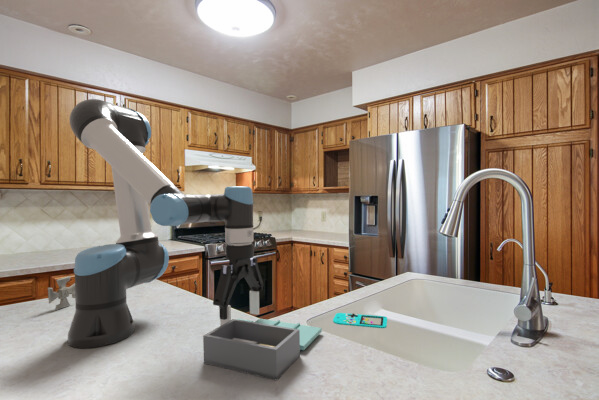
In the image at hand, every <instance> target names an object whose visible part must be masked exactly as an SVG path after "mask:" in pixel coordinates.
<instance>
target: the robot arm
mask: <svg viewBox="0 0 599 400" xmlns="http://www.w3.org/2000/svg"><path fill="white" fill-rule="evenodd" d="M69 125H70V129H71V130H72V133H73V134H74V135H75V137H76V138H77V139H78V140H79V141H80V143H82V145H83V146H85V147H86V148H88V149H92V150H94V151H96V152H97V154H99V156H100V157H101V158H103V159H104V160H105V162H107V164H108V165H110V167H111V174H112V182H113V189H114V198H115V202H116V203H115V205H116V212H117V218H118V219H117V220H118V226H119V234H120V236H119V238H118V239H117V240H116V241H115V243H110V244H104V245H97V246H93V247H89V248H86V249H84V250H81V251H80V252H79V253H77V254H76V256H75V259H74V267H73V274H74V283H75V298H74V299H75V301H74V302H75V311H74V315H73V317H72V321H71V324H70V327H69V330H68V332H67V344H68V346H70V347H72V348H77V349H79V348H80V349H87V348H88V349H89V348H97V347H103V346H109V345H111V344H114V343H117V342H120V341H123V340H124V339H127V338H129V337H130V336H132V334H134V333H135V321H134V319H133V316H132V314H131V311H130V308H129V305H128V304H127V290H128V289H131V288H134V287H136V286H137V287H138V286H139V285H143V284H147V283H151V282H152V281H155V280H157V279H159V278H160V277H161V276H163V274H164V273H165V272H166V270H167V268H168V266H169V262H170V261H169V260H170V257H169V256H170V255H169V252H168V249H167V247H165V246H164V244H163V243H160V242H159V236H158V235H157V234H156V233H154V232H153V231H152V224H151V217H152V220H153V222H155V223H156V224H158V225H160V226H163V227H177V226H182V225H188V224H197V223H204V222H208V223H209V222H224V224H225V226H224V231H225V232H224V233H225V234H224V237H225V238H224V241H225V243H226V245H225V258H226V259H227V260H228V262H229V263H228V265H221V266H220V275H219V278H218V282H217V287H216V290H215V294H214V297H213V302H212V304H213V306H217V307H218V308H219V309H218V310H219V313H218V314H219V320H220V323H219V324H220V326H221V325H223V324H225V323H227V322H229V321H230V320H232V312H231V310H232V309H231V308H232V306H231V305H230V301H231V300H232V299H231V298H233V297H232V296H233V295H234V292H235V289H236V286H237V284H238V283H240V280H242V279H243V278H244V279H245V281H246V283H247V285H248V286H249V287H250V290H249V314H251V315H255V316H256V315H260V292H262V291H263V289H264V288H263V287H264V281H263V278H262V274H261V271H260V268H259V264H258V258H257V257H255V245H254V243H253V242H254V241H255V240H254V234H255V233H254V203H255V202H254V198H253V189H252V187H251V186H246V185H245V186H244V185H243V186H241V185H239V186H235V185H234V186H233V185H232V186H226V187H225V188H224V192H223V193H220V194H215V193H214V194H213V193H212V194H209V193H208V194H202V193H199V194H197V193H196V194H193V193H192V194H191V193H190V194H189V193H188V194H187V193H183V192H182V191H181V190H180V188H178V187H177V186H176V185H175V184H174V183H173V182H172V181H171V180H170V179H169V178H168V177H166V176H165V174H164V173H162V172H161V171H160V170H159V169H158V168H157V166H155V165H154V164H153V163H152V162H151V161H150V160H149V159H148V158H146V156H144V155H143V154H144V153H145V151H146V146H147V145H148V144H149V142H150V139H152V127H151V125H150V122H149V120H148V119H147V117H146V116H145V115H143V114H142V113H141V112H139V111H136V110H134V109H133V108H129V107H125V106H120V105H117V104H115V103H110V102H108V101H105V100H102V99H96V98H89V99H85V100H82V101H80V102H78V103H77V104H76V105H75V106H74V107H73V108H72V110H71V112H70V115H69ZM149 205H150V207H149ZM150 215H151V216H150ZM220 326H219V327H220Z"/></svg>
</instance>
